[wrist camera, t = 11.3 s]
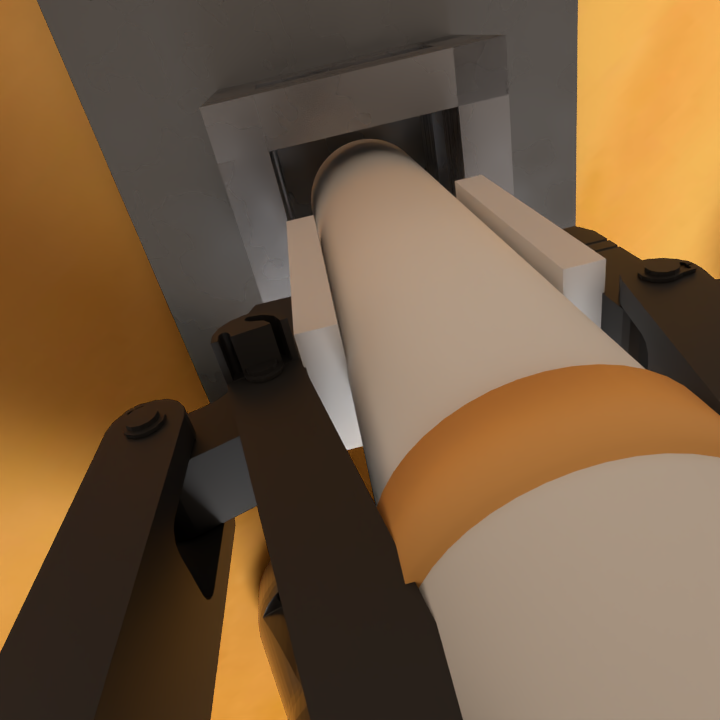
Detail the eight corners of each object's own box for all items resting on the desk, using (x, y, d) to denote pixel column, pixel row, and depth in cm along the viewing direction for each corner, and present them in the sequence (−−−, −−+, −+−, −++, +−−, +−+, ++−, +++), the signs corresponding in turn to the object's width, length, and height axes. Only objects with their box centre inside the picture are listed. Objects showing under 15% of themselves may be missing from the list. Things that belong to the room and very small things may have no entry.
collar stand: (565, 314, 28) (638, 385, 22) (215, 399, 27) (201, 493, 22) (565, -161, 18) (693, -246, 13) (32, -36, 18) (-77, -67, 12)
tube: (435, 242, 20) (916, 868, 5) (322, 269, 20) (469, 983, 5) (418, 120, 18) (1194, 584, 3) (292, 150, 18) (393, 789, 3)
